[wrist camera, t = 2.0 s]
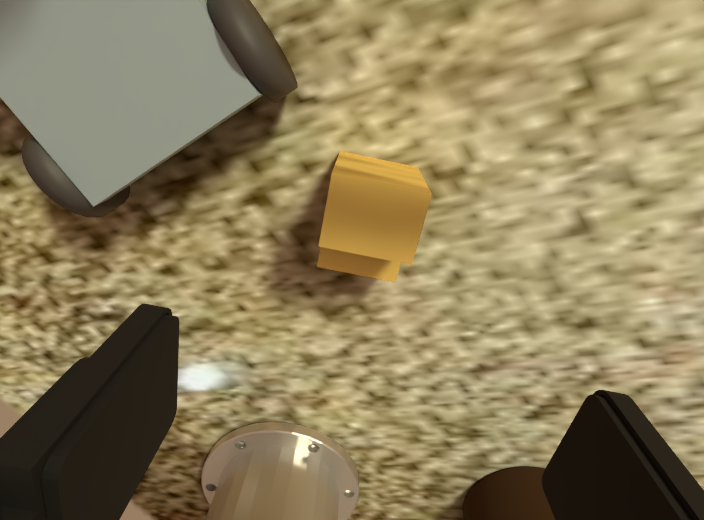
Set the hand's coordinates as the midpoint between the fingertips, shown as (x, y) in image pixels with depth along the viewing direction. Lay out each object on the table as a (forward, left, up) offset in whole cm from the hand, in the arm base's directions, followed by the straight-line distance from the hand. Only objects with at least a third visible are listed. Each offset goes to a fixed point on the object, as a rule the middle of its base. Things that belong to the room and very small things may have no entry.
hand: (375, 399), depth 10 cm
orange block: (-1, 0, -17) cm, 17 cm away
